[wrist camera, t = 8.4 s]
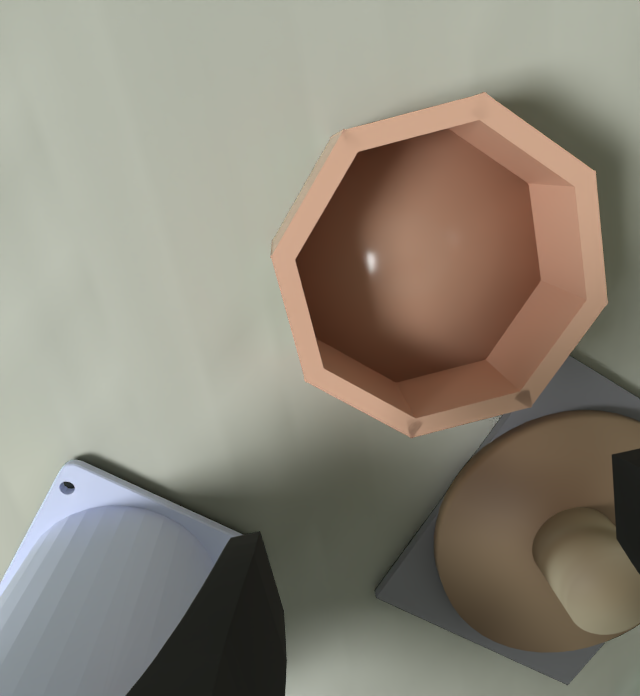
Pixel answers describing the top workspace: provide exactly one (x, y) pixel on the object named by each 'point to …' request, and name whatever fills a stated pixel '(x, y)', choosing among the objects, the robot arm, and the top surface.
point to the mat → (418, 558)
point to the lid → (541, 535)
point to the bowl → (441, 265)
